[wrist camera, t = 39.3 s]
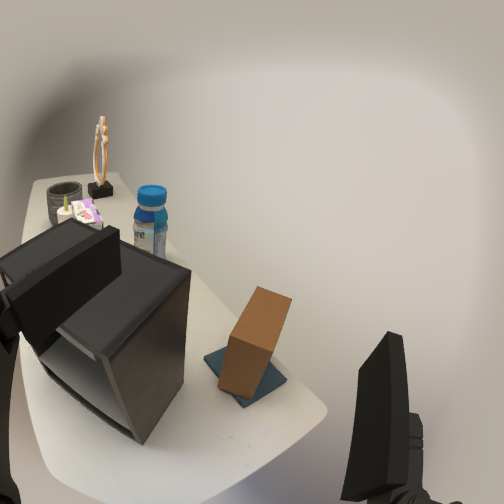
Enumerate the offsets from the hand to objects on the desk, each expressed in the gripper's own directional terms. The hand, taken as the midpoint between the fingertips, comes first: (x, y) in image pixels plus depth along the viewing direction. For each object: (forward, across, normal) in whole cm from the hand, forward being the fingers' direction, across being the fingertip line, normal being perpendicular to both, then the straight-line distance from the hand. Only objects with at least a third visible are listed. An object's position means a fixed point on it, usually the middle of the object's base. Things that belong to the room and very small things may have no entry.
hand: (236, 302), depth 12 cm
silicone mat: (+21, 0, -34) cm, 40 cm away
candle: (+32, -58, -34) cm, 74 cm away
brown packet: (+21, 0, -33) cm, 39 cm away
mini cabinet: (+6, -19, -34) cm, 39 cm away
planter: (+38, -68, -34) cm, 85 cm away
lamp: (+64, -79, -34) cm, 107 cm away
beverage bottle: (+39, -33, -34) cm, 61 cm away
